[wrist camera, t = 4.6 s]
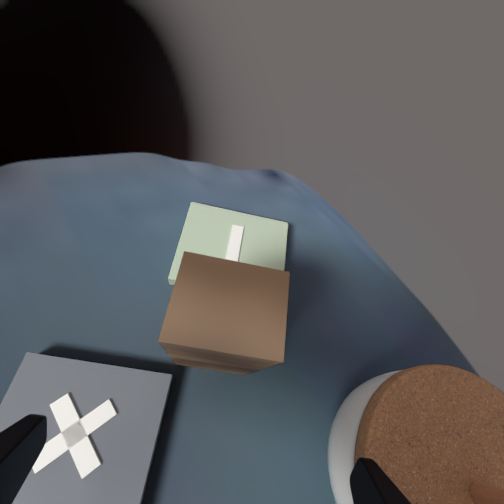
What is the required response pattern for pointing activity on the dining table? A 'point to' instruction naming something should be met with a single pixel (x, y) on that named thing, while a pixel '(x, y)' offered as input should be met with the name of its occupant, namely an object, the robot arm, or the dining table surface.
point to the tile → (88, 428)
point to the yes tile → (231, 238)
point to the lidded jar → (423, 435)
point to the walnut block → (226, 315)
